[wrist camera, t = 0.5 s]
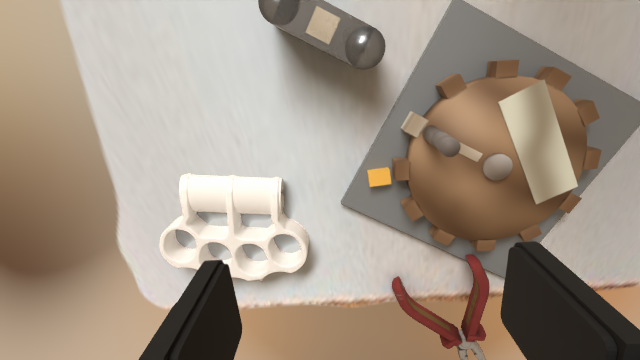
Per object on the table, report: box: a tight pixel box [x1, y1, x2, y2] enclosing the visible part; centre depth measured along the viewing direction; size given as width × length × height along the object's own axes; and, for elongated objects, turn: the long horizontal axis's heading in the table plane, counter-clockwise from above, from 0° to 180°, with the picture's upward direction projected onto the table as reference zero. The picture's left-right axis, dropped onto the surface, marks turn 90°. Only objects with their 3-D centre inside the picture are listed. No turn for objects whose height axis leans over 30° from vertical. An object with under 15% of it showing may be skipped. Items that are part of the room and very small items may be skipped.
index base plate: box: [341, 0, 640, 278], centre depth 35 cm, size 24×24×2 cm
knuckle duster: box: [159, 173, 309, 282], centre depth 39 cm, size 3×18×15 cm
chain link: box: [258, 0, 385, 69], centre depth 29 cm, size 3×11×6 cm, turn 64°
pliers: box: [392, 254, 489, 360], centre depth 43 cm, size 12×20×3 cm, turn 26°
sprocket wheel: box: [392, 60, 602, 251], centre depth 32 cm, size 21×21×8 cm
